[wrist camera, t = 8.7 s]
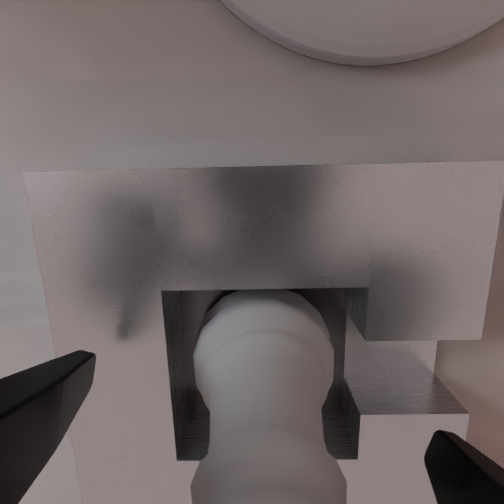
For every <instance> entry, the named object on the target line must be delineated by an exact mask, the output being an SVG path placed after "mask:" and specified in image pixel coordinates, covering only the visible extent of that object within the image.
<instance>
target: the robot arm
mask: <svg viewBox="0 0 504 504" xmlns="http://www.w3.org/2000/svg"><path fill="white" fill-rule="evenodd" d="M95 364H96V355H95V353H93V352H88V351H84V350H77V351H74V352H72V353H69V354H66V355H64V356H61V357H58V358H56V359H53V360H50V361H47V362H45V363H42V364H39V365H37V366H34V367H31V368H29V369H26V370H23V371H20V372H18V373H15V374H12V375H10V376H7V377H4V378H2V379H0V504H18V503H19V502H20V500H21V499H22V497H23V496H24V495H25V493H26V492H27V490H28V489H29V487H30V486H31V485H32V483H33V482H34V480H35V479H36V478H37V476H38V475H39V473H40V472H41V471H42V469H43V468H44V466H45V465H46V464H47V462H48V461H49V459H50V458H51V456H52V455H53V453H54V452H55V450H56V449H57V447H58V445H59V444H60V442H61V440H62V439H63V437H64V435H65V433H66V432H67V430H68V428H69V426H70V425H71V423H72V421H73V419H74V418H75V416H76V414H77V412H78V411H79V409H80V407H81V405H82V404H83V402H84V400H85V398H86V397H87V395H88V393H89V391H90V389H91V386H92V383H93V378H94V371H95ZM424 463H425V467H426V470H427V473H428V476H429V479H430V482H431V485H432V489H433V492H434V495H435V498H436V501H437V504H504V469H503V468H502V467H500V466H499V465H498V464H496V463H495V462H494V461H492V460H491V459H489V458H488V457H487V456H485V455H484V454H483V453H481V452H480V451H478V450H477V449H476V448H474V447H473V446H472V445H470V444H469V443H467V442H466V441H465V440H463V439H462V438H461V437H459V436H458V435H456V434H455V433H453V432H449V431H444V430H436V431H435V432H434V434H433V436H432V438H431V440H430V443H429V445H428V447H427V449H426V452H425V455H424Z"/></svg>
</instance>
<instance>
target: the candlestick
mask: <svg viewBox="0 0 504 504" xmlns="http://www.w3.org/2000/svg"><path fill="white" fill-rule="evenodd" d="M220 1H221V2H222V3H223V4H224V5H225V6H226V7H227V8H228V9H229V10H230V11H231V12H232V13H234V14H235V15H236V16H237V17H238V18H239V19H241V20H242V21H243V22H244V23H246V24H247V25H248V26H250V27H251V28H252V29H254V30H255V31H257V32H258V33H260V34H261V35H263V36H264V37H266V38H268V39H270V40H271V41H273V42H275V43H277V44H279V45H281V46H283V47H285V48H287V49H290V50H292V51H294V52H297V53H300V54H302V55H305V56H308V57H311V58H315V59H319V60H323V61H327V62H332V63H338V64H346V65H364V66H371V65H387V64H395V63H401V62H406V61H411V60H415V59H419V58H423V57H426V56H430V55H433V54H436V53H438V52H441V51H444V50H446V49H449V48H451V47H453V46H456V45H458V44H460V43H462V42H464V41H466V40H468V39H470V38H472V37H473V36H475V35H477V34H479V33H480V32H482V31H484V30H485V29H487V28H489V27H490V26H492V25H493V24H495V23H497V22H498V21H500V20H501V19H503V18H504V0H220Z"/></svg>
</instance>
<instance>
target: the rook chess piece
mask: <svg viewBox="0 0 504 504" xmlns="http://www.w3.org/2000/svg"><path fill="white" fill-rule="evenodd" d="M193 359H194V369H195V379H196V386H197V388H198V389H199V391H200V393H201V395H202V396H203V401H204V402H205V404H206V406H207V408H208V409H209V411H210V442H209V448H208V454H207V456H205V457H204V458H203V459H202V460H201V461H200V462H199V465H198V467H197V470H196V472H195V475H194V477H193V480H192V482H191V485H190V488H191V497H192V504H346V499H347V481H346V479H345V477H344V475H343V473H342V471H341V469H340V467H339V465H338V463H337V461H336V459H335V458H334V457H333V456H332V455H330V454H329V453H328V452H327V449H326V445H325V441H324V435H323V423H322V412H321V408H322V406H323V404H324V402H325V400H326V398H327V393H328V391H329V389H330V387H331V385H332V383H333V374H334V348H333V346H332V344H331V342H330V334H329V332H328V330H327V327H326V325H325V323H324V321H323V318H322V316H321V314H320V312H319V311H318V310H317V309H316V308H314V307H313V306H312V305H311V304H310V303H309V302H308V301H307V300H306V299H304V298H303V297H302V296H301V295H299V294H297V293H294V292H291V291H288V290H285V289H240V290H238V291H236V292H233V293H231V294H229V295H227V296H224V297H222V298H221V299H220V300H219V301H218V302H217V303H216V304H215V305H214V306H213V307H212V308H211V310H210V311H209V312H208V313H207V314H206V315H205V316H204V318H203V321H202V324H201V326H200V329H199V332H198V335H197V338H196V347H195V350H194V352H193Z"/></svg>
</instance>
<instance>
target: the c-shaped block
mask: <svg viewBox="0 0 504 504" xmlns="http://www.w3.org/2000/svg"><path fill="white" fill-rule="evenodd" d="M23 177H24V183H25V188H26V194H27V199H28V205H29V211H30V216H31V222H32V227H33V233H34V238H35V244H36V249H37V255H38V260H39V266H40V271H41V277H42V282H43V288H44V293H45V299H46V304H47V310H48V315H49V321H50V327H51V332H52V338H53V343H54V349H55V354H56V358H58V357H61V356H64V355H66V354H69V353H72V352H74V351H77V350H84V351H88V352H93V353H95V355H96V364H95V371H94V378H93V383H92V386H91V389H90V391H89V393H88V395H87V397H86V398H85V400H84V402H83V404H82V405H81V407H80V409H79V411H78V412H77V414H76V416H75V418H74V419H73V421H72V423H71V425H70V426H69V431H70V437H71V443H72V448H73V454H74V459H75V465H76V470H77V476H78V481H79V487H80V492H81V498H82V503H83V504H192V497H191V488H190V485H191V482H192V480H193V477H194V475H195V472H196V470H197V467H198V465H199V462H200V461H201V460H202V459H203V458H204V457H205V456H207V454H208V448H209V442H210V411H209V409H208V408H207V406H206V404H205V402H204V401H203V396H202V395H201V393H200V391H199V389H198V388H197V386H196V379H195V369H194V359H193V352H194V350H195V347H196V338H197V335H198V332H199V329H200V326H201V324H202V321H203V318H204V316H205V315H206V314H207V313H208V312H209V311H210V310H211V308H212V307H213V306H214V305H215V304H216V303H217V302H218V301H219V300H220V299H221V298H222V297H224V296H227V295H229V294H231V293H233V292H236V291H238V290H240V289H285V290H288V291H291V292H294V293H297V294H299V295H301V296H302V297H303V298H304V299H306V300H307V301H308V302H309V303H310V304H311V305H312V306H313V307H314V308H316V309H317V310H318V311H319V312H320V314H321V316H322V318H323V321H324V323H325V325H326V327H327V330H328V332H329V334H330V342H331V344H332V346H333V348H334V374H333V383H332V385H331V387H330V389H329V391H328V393H327V398H326V400H325V402H324V404H323V406H322V408H321V412H322V423H323V435H324V441H325V445H326V449H327V452H328V453H329V454H330V455H332V456H333V457H334V458H335V459H336V461H337V463H338V465H339V467H340V469H341V471H342V473H343V475H344V477H345V479H346V481H347V499H346V504H437V501H436V498H435V495H434V492H433V489H432V485H431V482H430V479H429V476H428V473H427V470H426V467H425V463H424V455H425V452H426V449H427V447H428V445H429V443H430V440H431V438H432V436H433V434H434V432H435V431H436V430H444V431H449V432H453V433H455V434H456V435H458V436H459V437H461V438H462V439H463V440H465V441H466V435H467V429H468V422H469V416H470V414H469V412H468V411H467V410H466V409H465V408H464V407H463V406H462V405H461V404H460V402H459V401H458V400H457V399H456V398H455V397H454V396H453V395H452V393H451V392H450V391H449V390H448V389H447V388H446V387H445V386H444V384H443V383H442V382H441V381H440V380H439V379H438V378H437V377H436V376H435V374H434V366H435V358H436V350H437V341H438V340H481V338H482V332H483V325H484V319H485V312H486V306H487V299H488V293H489V286H490V280H491V273H492V267H493V260H494V254H495V247H496V241H497V235H498V228H499V222H500V215H501V209H502V202H503V196H504V161H464V162H422V163H380V164H339V165H297V166H255V167H213V168H171V169H129V170H87V171H45V172H23Z"/></svg>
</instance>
